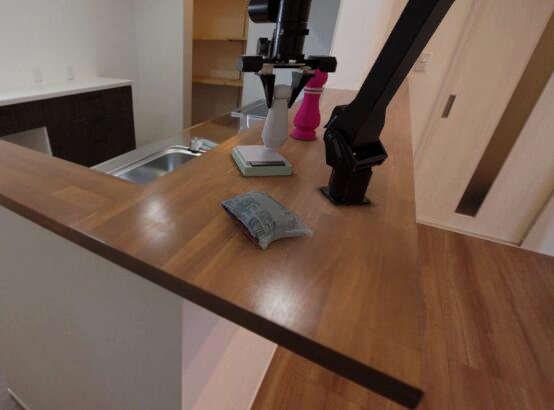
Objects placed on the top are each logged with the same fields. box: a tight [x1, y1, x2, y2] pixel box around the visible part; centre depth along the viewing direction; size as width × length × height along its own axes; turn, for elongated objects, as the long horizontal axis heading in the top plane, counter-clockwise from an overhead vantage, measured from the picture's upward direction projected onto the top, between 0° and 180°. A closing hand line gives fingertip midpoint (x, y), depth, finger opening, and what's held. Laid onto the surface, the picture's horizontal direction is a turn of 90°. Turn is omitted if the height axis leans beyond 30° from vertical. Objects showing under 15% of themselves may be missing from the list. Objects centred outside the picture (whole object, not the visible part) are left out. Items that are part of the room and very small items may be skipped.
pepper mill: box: [292, 70, 329, 141], centre depth 82 cm, size 7×7×20 cm
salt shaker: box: [261, 83, 292, 150], centre depth 65 cm, size 6×6×13 cm
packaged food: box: [220, 189, 314, 250], centre depth 44 cm, size 9×12×5 cm
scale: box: [231, 144, 293, 177], centre depth 67 cm, size 12×10×3 cm
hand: (278, 108), depth 64 cm, fingers closed on salt shaker, 4 cm apart
